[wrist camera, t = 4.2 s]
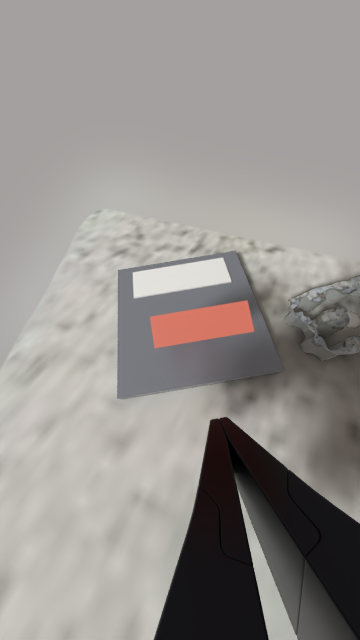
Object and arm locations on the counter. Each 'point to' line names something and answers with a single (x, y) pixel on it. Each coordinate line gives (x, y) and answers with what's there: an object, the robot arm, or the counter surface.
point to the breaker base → (195, 357)
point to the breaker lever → (201, 324)
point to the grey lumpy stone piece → (326, 319)
